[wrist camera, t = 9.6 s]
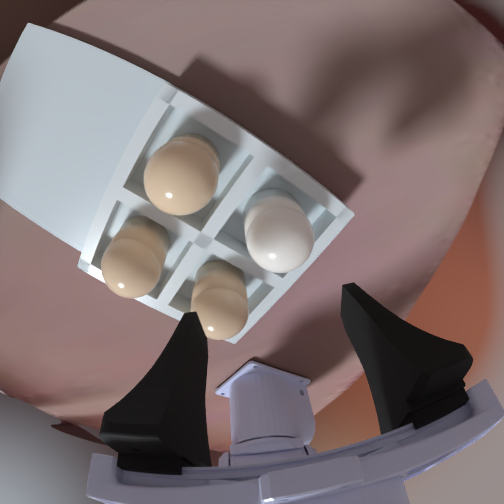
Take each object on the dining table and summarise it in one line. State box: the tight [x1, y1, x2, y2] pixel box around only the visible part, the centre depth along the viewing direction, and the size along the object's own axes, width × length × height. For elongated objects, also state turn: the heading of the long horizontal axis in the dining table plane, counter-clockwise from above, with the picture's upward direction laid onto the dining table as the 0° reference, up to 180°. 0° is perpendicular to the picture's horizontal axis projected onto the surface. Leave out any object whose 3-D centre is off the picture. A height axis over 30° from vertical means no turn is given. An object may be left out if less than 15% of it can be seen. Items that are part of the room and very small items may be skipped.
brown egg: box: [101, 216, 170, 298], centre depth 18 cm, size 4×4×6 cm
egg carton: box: [0, 23, 355, 344], centre depth 17 cm, size 30×15×2 cm, turn 54°
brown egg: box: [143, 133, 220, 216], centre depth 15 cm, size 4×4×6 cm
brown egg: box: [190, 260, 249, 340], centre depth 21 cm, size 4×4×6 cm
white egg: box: [243, 188, 314, 273], centre depth 18 cm, size 4×4×6 cm
